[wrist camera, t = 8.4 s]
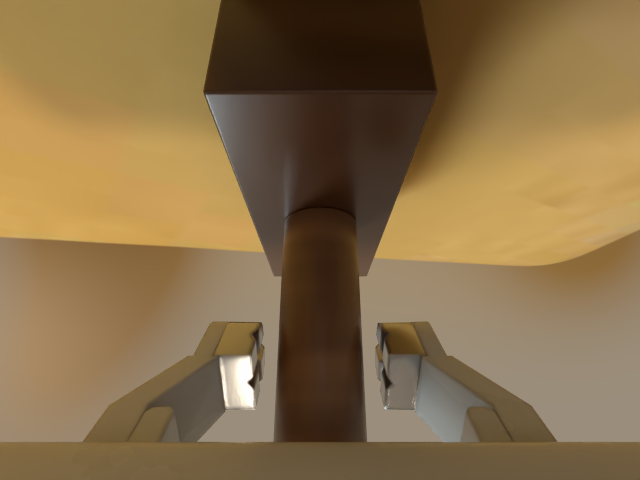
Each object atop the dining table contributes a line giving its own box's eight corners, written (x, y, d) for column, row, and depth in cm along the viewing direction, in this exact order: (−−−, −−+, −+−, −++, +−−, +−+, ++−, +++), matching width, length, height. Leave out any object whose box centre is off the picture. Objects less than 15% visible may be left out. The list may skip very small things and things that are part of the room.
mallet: (223, -19, 8) (60, 812, 3) (417, -19, 8) (581, 812, 3) (277, 212, 18) (260, 491, 13) (363, 212, 18) (379, 490, 13)
